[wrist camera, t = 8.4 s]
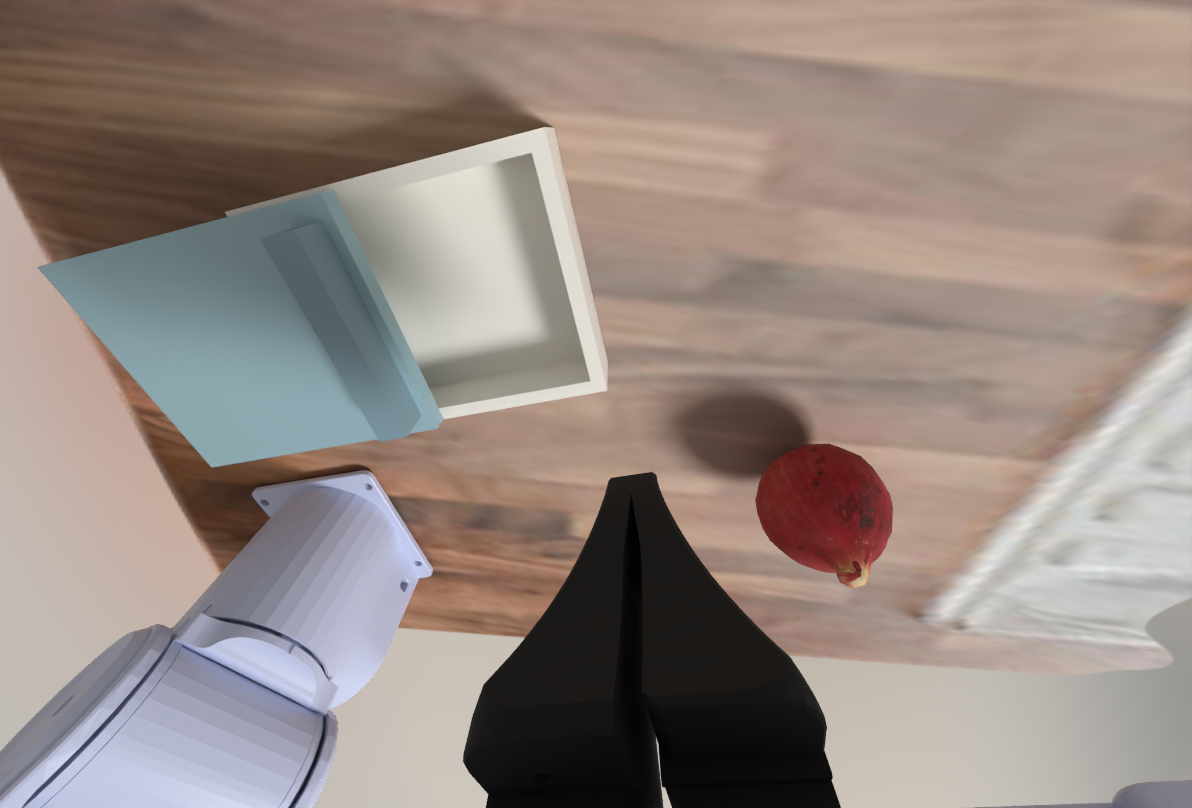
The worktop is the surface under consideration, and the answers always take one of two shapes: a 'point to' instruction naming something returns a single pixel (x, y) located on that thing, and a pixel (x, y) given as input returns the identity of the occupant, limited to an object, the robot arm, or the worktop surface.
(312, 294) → the lid
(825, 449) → the onion
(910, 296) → the worktop surface
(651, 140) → the worktop surface
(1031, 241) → the worktop surface
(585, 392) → the box
